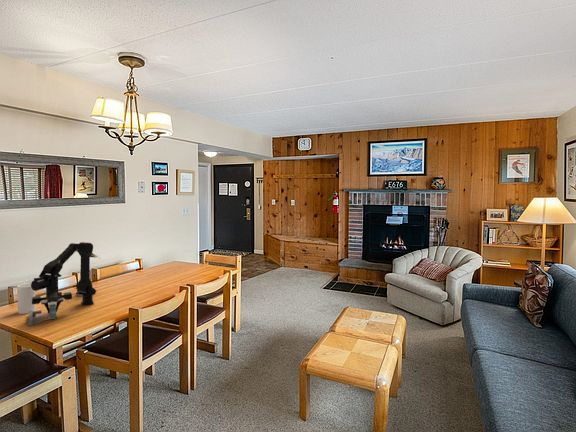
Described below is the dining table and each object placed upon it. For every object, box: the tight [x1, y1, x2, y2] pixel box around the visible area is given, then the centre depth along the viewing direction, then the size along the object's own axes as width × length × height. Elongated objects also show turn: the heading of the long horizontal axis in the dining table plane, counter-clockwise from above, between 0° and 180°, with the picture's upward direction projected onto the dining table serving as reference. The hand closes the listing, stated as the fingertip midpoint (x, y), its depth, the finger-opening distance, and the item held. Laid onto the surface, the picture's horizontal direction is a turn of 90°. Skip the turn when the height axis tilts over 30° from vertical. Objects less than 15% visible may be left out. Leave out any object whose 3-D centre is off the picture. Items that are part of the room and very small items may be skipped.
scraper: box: [48, 302, 57, 320], centre depth 195 cm, size 12×3×6 cm, turn 36°
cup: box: [16, 282, 36, 315], centre depth 202 cm, size 8×8×16 cm
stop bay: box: [28, 309, 42, 327], centre depth 190 cm, size 18×6×3 cm, turn 36°
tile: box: [36, 311, 50, 322], centre depth 192 cm, size 6×6×2 cm
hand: (52, 312), depth 195 cm, fingers closed on scraper, 3 cm apart
